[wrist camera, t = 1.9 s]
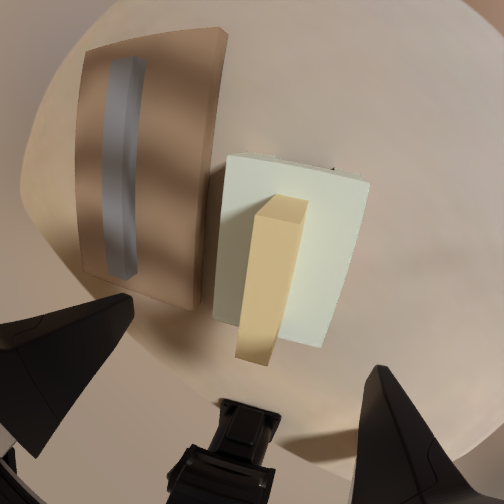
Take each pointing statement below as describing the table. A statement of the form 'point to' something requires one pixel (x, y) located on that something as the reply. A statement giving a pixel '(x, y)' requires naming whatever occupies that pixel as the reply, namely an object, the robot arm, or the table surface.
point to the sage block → (283, 249)
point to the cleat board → (148, 160)
